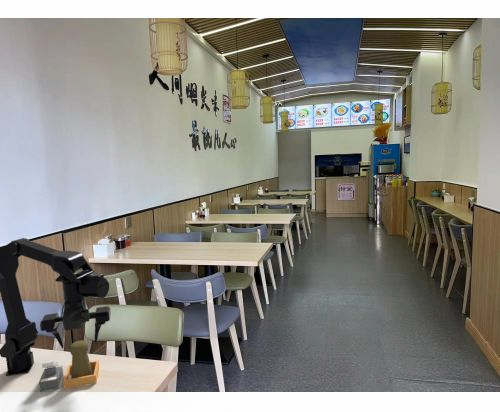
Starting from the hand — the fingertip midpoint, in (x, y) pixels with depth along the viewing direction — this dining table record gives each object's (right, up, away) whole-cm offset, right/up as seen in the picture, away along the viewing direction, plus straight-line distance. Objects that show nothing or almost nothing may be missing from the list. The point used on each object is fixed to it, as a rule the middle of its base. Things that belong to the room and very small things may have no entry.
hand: (79, 344), depth 115 cm
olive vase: (0, -10, +2) cm, 11 cm away
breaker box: (-8, -11, -1) cm, 14 cm away
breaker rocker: (-8, -6, -2) cm, 10 cm away
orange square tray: (0, -11, +2) cm, 11 cm away
